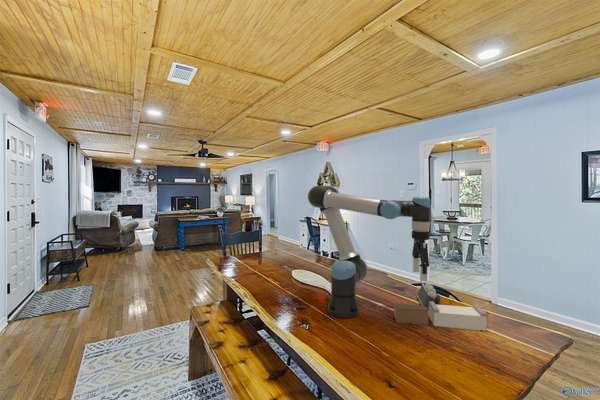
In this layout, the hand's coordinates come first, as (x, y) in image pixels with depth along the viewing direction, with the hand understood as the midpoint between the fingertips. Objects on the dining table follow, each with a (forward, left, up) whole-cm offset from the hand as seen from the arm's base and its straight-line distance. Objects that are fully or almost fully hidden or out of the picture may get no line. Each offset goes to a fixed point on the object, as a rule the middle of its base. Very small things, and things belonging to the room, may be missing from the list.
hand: (419, 276), depth 124 cm
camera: (+8, +16, -19) cm, 26 cm away
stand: (+14, -4, -19) cm, 24 cm away
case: (-5, -5, -19) cm, 20 cm away
